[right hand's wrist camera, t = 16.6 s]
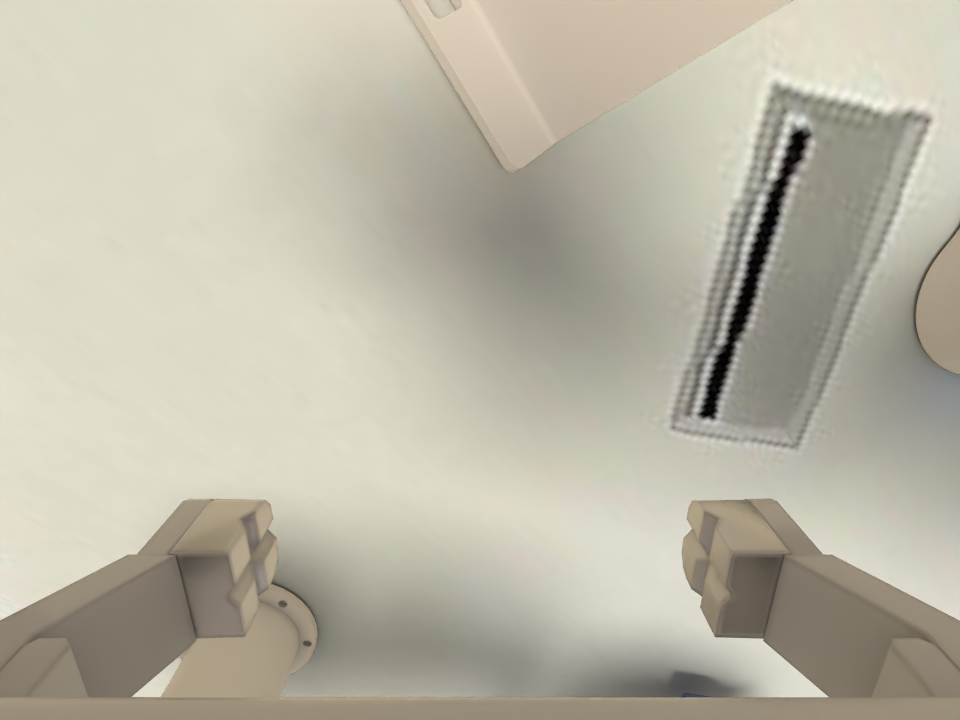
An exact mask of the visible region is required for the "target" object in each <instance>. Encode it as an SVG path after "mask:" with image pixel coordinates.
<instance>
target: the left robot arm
mask: <svg viewBox="0 0 960 720" xmlns="http://www.w3.org/2000/svg"><path fill="white" fill-rule="evenodd" d="M258 600H259V606H260V608H259V610H258V612H257V614H256V616H255V618H254V620H253V622H252V624H251V626H250V628H249V630H248V632H247V634H246V636H245V637H229V638H196V642H195V643H194V644H193V645H191V646H190V647H189V648H188V649H187V650H185V651H184V652H183V653H182V654H181V655H180V656H178V657H177V658H181V659H182V662H181V664H180V665H179V667H178V669H177V670H176V672H175V674H174V676H173V677H172V679H171V681H170V682H169V684H168V686H167V687H166V689H165V691H164V692H163V694H162V696H161V697H182V698H261V697H281V694H282V692H283V689H284V686H285V684H286V681H287V678H288V675H291V674H293V673H295V672H296V671H298V670H299V669H301V668H302V667H303V666H304V665H305V664H306V663H307V662H308V661H309V659H310V658H311V656H312V654H313V652H314V649H315V646H316V642H317V637H318V632H317V625H316V622H315V619H314V617H313V615H312V613H311V612H310V610H309V608H308V607H307V606H306V605H305V604H304V603H303V602H302V601H301V600H300V599H299V598H297V597H296V596H295V595H294V594H292V593H290V592H289V591H287V590H285V589H283V588H281V587H278V586H276V585H273V584H271V585H270V587H269V589H268V590H266V591H265V592H263V593H262V594H261V595H259V596H258Z"/></svg>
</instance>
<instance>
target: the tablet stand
mask: <svg viewBox="0 0 960 720" xmlns="http://www.w3.org/2000/svg"><path fill="white" fill-rule="evenodd" d="M791 1H793V0H451V2H452V3H453V5H454V7H455V9H456V11H454V12H452V13H451V14H449V15H447V16H445V17H443V18H441V19H437V18H435V17H434V15H433V14H432V12H431V11H430V9H429V7H428V6H427V4H426V2H425V1H424V0H401V2H402V4H403V5H404V7H405V8H406V10H407V12H408V13H409V15H410V17H411V18H412V20H413V21H414V23H415V25H416V26H417V28H418V30H419V31H420V33H421V34H422V36H423V38H424V39H425V41H426V43H427V44H428V46H429V47H430V49H431V51H432V52H433V54H434V56H435V57H436V59H437V60H438V62H439V64H440V65H441V67H442V69H443V70H444V72H445V73H446V75H447V77H448V78H449V80H450V82H451V83H452V85H453V86H454V88H455V90H456V91H457V93H458V95H459V96H460V98H461V99H462V101H463V103H464V104H465V106H466V108H467V109H468V111H469V113H470V114H471V116H472V117H473V119H474V121H475V122H476V124H477V126H478V127H479V129H480V130H481V132H482V134H483V135H484V137H485V139H486V140H487V142H488V143H489V145H490V147H491V148H492V150H493V152H494V153H495V155H496V156H497V158H498V160H499V161H500V163H501V165H502V166H503V168H504V169H505V170H506V171H508V172H512V173H513V172H516V171H518V170H520V169H521V168H523V167H525V166H526V165H527V164H529V163H530V162H531V161H533V160H534V159H535V158H536V157H538V156H539V155H540V154H542V153H543V152H544V151H546V150H547V149H548V148H550V147H551V146H552V145H554V144H555V143H557V142H558V141H560V140H562V139H563V138H565V137H567V136H568V135H570V134H572V133H573V132H575V131H577V130H578V129H580V128H582V127H583V126H585V125H587V124H588V123H590V122H592V121H593V120H595V119H597V118H598V117H600V116H602V115H603V114H605V113H607V112H608V111H610V110H612V109H613V108H615V107H617V106H618V105H620V104H622V103H623V102H625V101H627V100H628V99H630V98H632V97H633V96H635V95H637V94H638V93H640V92H642V91H643V90H645V89H647V88H648V87H650V86H652V85H653V84H655V83H657V82H658V81H660V80H662V79H663V78H665V77H667V76H668V75H670V74H672V73H673V72H675V71H677V70H678V69H680V68H682V67H683V66H685V65H687V64H688V63H690V62H692V61H693V60H695V59H697V58H698V57H700V56H701V55H703V54H705V53H706V52H708V51H710V50H711V49H713V48H715V47H716V46H718V45H720V44H721V43H723V42H725V41H726V40H728V39H730V38H731V37H733V36H735V35H736V34H738V33H740V32H741V31H743V30H745V29H746V28H748V27H750V26H751V25H753V24H755V23H756V22H758V21H760V20H761V19H763V18H765V17H766V16H768V15H770V14H771V13H773V12H775V11H776V10H778V9H780V8H781V7H783V6H785V5H786V4H788V3H790V2H791Z"/></svg>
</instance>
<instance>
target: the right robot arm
mask: <svg viewBox="0 0 960 720" xmlns="http://www.w3.org/2000/svg"><path fill="white" fill-rule="evenodd" d="M916 328H917V333H918V337H919V340H920V342H921V344H922V346H923V348H924V350H925V351H926V353H927V354H928V355H929V357H930V358H931V359H932V360H933V361H934V362H935V363H937V364H938V365H939V366H941V367H942V368H944V369H946V370H948V371H950V372H953V373H956V374H959V375H960V228H959V229H958V231H957V232H956V234H955V235H954V236H953V238H952V239H951V240H950V241H949V243H948V244H947V245H946V246H945V247H944V249H943V250H942V251H941V252H940V254H939V255H938V256H937V258H936V259H935V261H934V262H933V264H932V266H931V267H930V269H929V271H928V273H927V275H926V277H925V279H924V281H923V284H922V286H921V289H920V292H919V296H918V300H917V306H916ZM272 520H273V515H272V510H271V505H270V504H269V503H268V502H267V501H266V500H238V499H215V500H214V499H189V500H186V501H183V502H182V503H181V504H180V505H179V507H178V508H177V509H176V510H175V511H174V512H173V513H172V515H171V516H170V517H169V518H168V519H167V520H166V522H165V523H164V524H163V525H162V526H161V527H160V528H159V530H158V531H157V532H156V533H155V534H154V535H153V537H152V538H151V539H150V540H149V541H148V542H147V543H146V545H145V546H144V547H143V548H142V549H141V550H140V552H139V553H138V554H137V555H127V556H125V557H123V558H121V559H119V560H117V561H115V562H113V563H111V564H109V565H107V566H105V567H104V568H102V569H100V570H98V571H96V572H94V573H92V574H90V575H88V576H86V577H84V578H82V579H80V580H78V581H76V582H74V583H72V584H70V585H69V586H67V587H65V588H63V589H61V590H59V591H57V592H55V593H53V594H51V595H49V596H47V597H45V598H43V599H41V600H39V601H37V602H36V603H34V604H32V605H30V606H28V607H26V608H24V609H22V610H20V611H18V612H16V613H14V614H12V615H10V616H8V617H6V618H4V619H2V620H1V621H0V720H960V621H959V620H957V619H955V618H953V617H951V616H949V615H947V614H946V613H944V612H942V611H940V610H938V609H936V608H934V607H932V606H930V605H928V604H926V603H924V602H922V601H920V600H918V599H916V598H915V597H913V596H911V595H909V594H907V593H905V592H903V591H901V590H899V589H897V588H895V587H893V586H891V585H889V584H887V583H885V582H884V581H882V580H880V579H878V578H876V577H874V576H872V575H870V574H868V573H866V572H864V571H862V570H860V569H858V568H856V567H854V566H853V565H851V564H849V563H847V562H845V561H843V560H841V559H839V558H837V557H835V556H833V555H823V554H822V553H821V552H820V550H819V549H818V548H817V547H816V546H815V545H814V543H813V542H812V541H811V540H810V539H809V538H808V537H807V535H806V534H805V533H804V532H803V531H802V530H801V528H800V527H799V526H798V525H797V524H796V523H795V522H794V520H793V519H792V518H791V517H790V516H789V515H788V514H787V512H786V511H785V510H784V509H783V508H782V507H781V505H780V504H779V503H778V502H777V501H775V500H773V499H745V500H710V501H692V502H691V504H690V506H689V509H688V515H687V520H688V522H689V524H690V525H691V527H692V530H691V531H690V532H689V533H688V534H687V535H686V536H685V537H684V539H683V547H682V560H683V568H684V572H685V575H686V579H687V581H688V583H689V585H690V587H691V589H692V590H694V591H695V592H697V593H698V594H699V595H701V596H702V600H701V606H700V608H701V610H702V612H703V614H704V616H705V618H706V620H707V622H708V624H709V626H710V628H711V630H712V632H713V634H714V636H715V637H729V638H764V640H763V641H764V642H765V643H767V644H768V645H769V646H770V647H771V648H772V649H774V650H775V651H776V652H777V653H778V654H779V655H781V656H782V657H783V658H784V659H785V660H786V661H788V662H789V663H790V664H791V665H792V666H793V667H795V668H796V669H797V670H798V671H799V672H800V673H802V674H803V675H804V676H805V677H806V678H807V679H809V680H810V681H811V682H812V683H813V684H814V685H816V686H817V687H818V688H819V689H820V690H821V691H823V692H824V693H825V694H826V695H827V696H829V697H830V698H557V697H261V698H182V697H132V696H133V695H134V694H135V693H136V692H137V691H139V690H140V689H141V688H142V687H143V686H145V685H146V684H147V683H148V682H149V681H150V680H152V679H153V678H154V677H155V676H156V675H157V674H159V673H160V672H161V671H162V670H163V669H164V668H166V667H167V666H168V665H169V664H170V663H171V662H173V661H174V660H175V659H176V658H177V657H178V656H180V655H181V654H182V653H183V652H184V651H185V650H187V649H188V648H189V647H190V646H191V645H193V644H194V643H195V642H196V638H229V637H245V636H246V634H247V632H248V630H249V628H250V626H251V624H252V622H253V620H254V618H255V616H256V614H257V612H258V610H259V608H260V606H259V600H258V596H259V595H261V594H262V593H263V592H265V591H266V590H268V589H269V587H270V585H271V583H272V581H273V578H274V576H275V571H276V567H277V562H278V546H277V539H276V537H275V536H274V535H273V534H272V533H271V532H270V531H269V530H268V527H269V525H270V524H271V522H272Z"/></svg>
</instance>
